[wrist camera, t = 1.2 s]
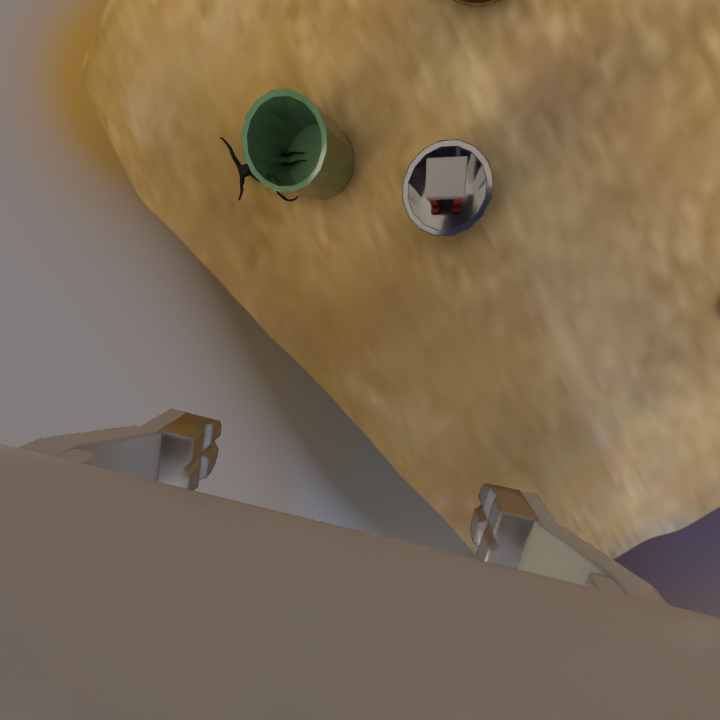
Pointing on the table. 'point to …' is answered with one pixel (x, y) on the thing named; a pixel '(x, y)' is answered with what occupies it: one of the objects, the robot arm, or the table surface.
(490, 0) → the apothecary jar
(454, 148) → the navy cup
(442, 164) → the tongs
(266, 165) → the green cup
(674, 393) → the table surface
